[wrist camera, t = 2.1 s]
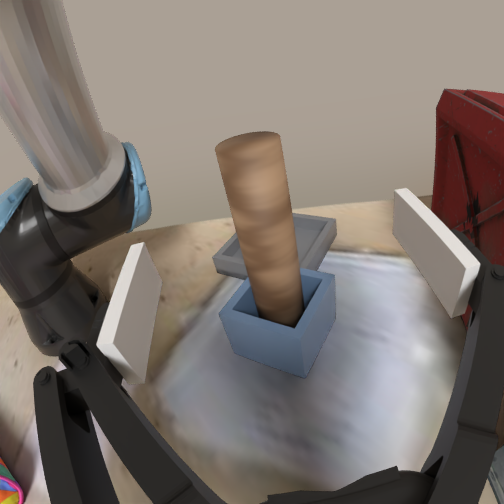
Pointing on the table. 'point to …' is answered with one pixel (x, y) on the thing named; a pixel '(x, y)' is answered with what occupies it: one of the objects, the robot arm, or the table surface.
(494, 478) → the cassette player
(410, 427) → the table surface
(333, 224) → the tray
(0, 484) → the pencil case
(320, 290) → the open box
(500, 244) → the jerry can
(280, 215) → the dowel
